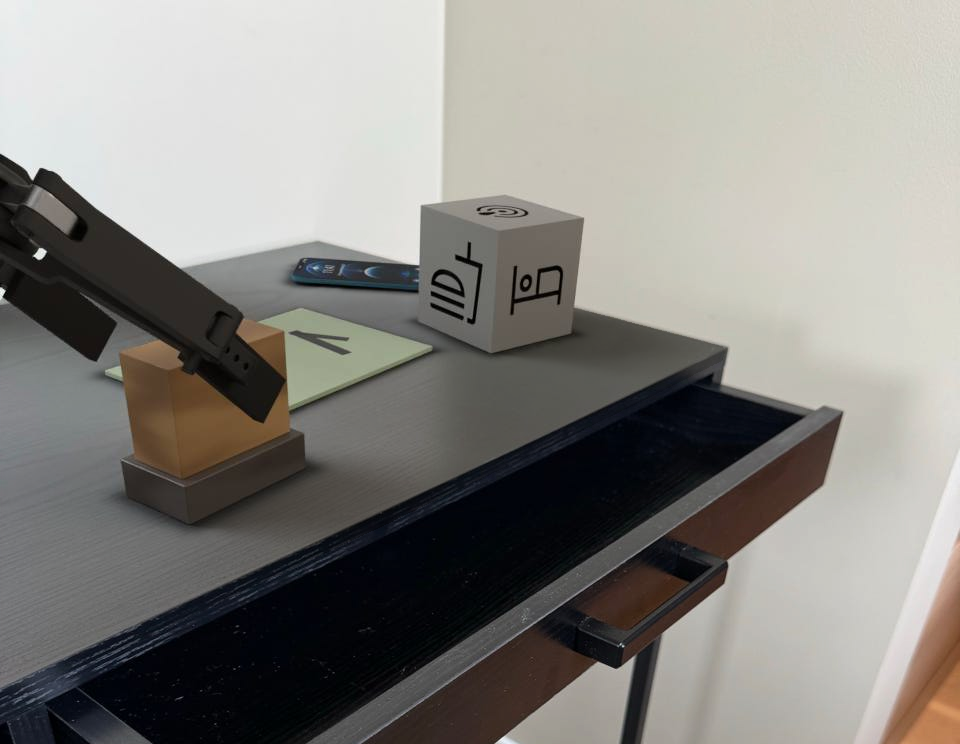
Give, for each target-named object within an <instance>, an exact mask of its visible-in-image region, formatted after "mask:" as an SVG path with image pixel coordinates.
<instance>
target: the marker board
mask: <svg viewBox="0 0 960 744" xmlns="http://www.w3.org/2000/svg"><path fill="white" fill-rule="evenodd" d="M257 322H258V323H261V324H264V325H268V326H271V327H274V328H277V329H281V330H284V332H285V350H286V368H287V385H288V403H289V412H290V411H293V410H295V409H297V408H300V407H302V406H304V405H306V404H310V403H311V402H314V401H316V400H318V399H322V398H323V397H326V396H328V395H331V394H334V393H335V392H337V391H340V390H343V389H345V388H347V387H349V386H352V385H354V384H356V383H359V382H361V381H363V380H366V379H368V378H370V377H373V376H376V375H378V374H380V373H382V372H385V371H387V370H390V369H392V368H395V367H397V366H399V365H402V364H404V363H406V362H408V361H411V360H413V359H416V358H419V357H421V356H423V355H425V354H427V353H431V352H432V351H433V345H430V344H426V343H423V342H420V341H417V340H412V339H409V338H406V337H402V336H400V335H399V336H398V335H396V334H392V333H389V332H386V331H382V330H378V329H375V328H371V327H368V326H365V325H362V324H358V323H355V322H351V321H348V320H344V319H342V318H337V317H334V316H331V315H328V314H324V313H320V312H316V311H314V310H311V309H307V308H303V307H298V308H296V309H293V310H290V311H287V312H283V313H281V314H277V315H275V316H271V317H267V318H265V319H262V320H261V319H260V320H258V321H257ZM104 374H105V376H106V377H108V378H112V379H115V380H117V381H120V382H122V383H123V377H122V371H121V365H120V364H119V365H117V366H113V367H110V368H109V369H105V370H104Z"/></svg>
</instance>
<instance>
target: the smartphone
mask: <svg viewBox="0 0 960 744" xmlns="http://www.w3.org/2000/svg"><path fill="white" fill-rule="evenodd" d="M291 280H292V281H295V282H298V283H309V284H324V285H339V286H353V287H354V286H355V287H368V288H382V289H397V290H410V291H419V264H409V263H408V264H407V263H395V262H380V261H364V260H351V259H339V258H337V259H336V258H323V257H301V258H300V259H299V261H298V262H297V263H296V266H295V267H294V270H293V271H292V273H291Z"/></svg>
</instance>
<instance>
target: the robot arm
mask: <svg viewBox="0 0 960 744" xmlns="http://www.w3.org/2000/svg"><path fill="white" fill-rule="evenodd" d="M39 249H43V250H44V251H46V252H45V253H44V256H43V257H42V258H41V259H38V258H37V257H36V256H35V255H36V254H37V253H38V252H39ZM0 289H2V290H4V293H3V295H2V297H1V298H2V299H4V300H5V301H7V302H8V303H9V304H11V305H12V306H13V307H15V308H16V309H17V310H19V311H21V312H22V313H23V314H25V315H26V316H27V317H28V318H30V319H31V320H33V321H34V322H36V323H37V324H38V325H40V326H42V327H43V328H44V329H46V330H47V331H48V332H50V333H51V334H53V335H54V336H55V337H57V339H59V340H61V342H64V343H65V344H66V345H68V346H69V347H71V348H72V349H73V350H75V351H76V352H78V353H79V354H80V355H82V356H83V357H84V358H86V359H87V360H89V361H92V362H95V363H97V362H98V360H99V359H100V357H101V355H102V353H103V351H104V349H105V348H106V346H107V344H108V342H109V340H110V338H111V336H112V334H113V333H114V331H115V329H116V327H117V325H118V322H117V321H116V320H115V319H114V318H112V316H110V315H108V314H107V313H106V312H105V311H104V310H102V309H101V308H100V307H98V306H97V305H96V304H95V303H97V304H98V305H100V306H101V307H103V308H105V309H107V310H108V311H110V312H112V313H113V314H115V315H117V316H119V317H120V318H122V319H124V320H125V321H127V322H128V323H130V324H131V325H134V326H136V327H137V328H139V329H141V330H142V331H144V332H146V334H149V335H151V336H152V337H154V338H155V339H157V340H161V341H162V342H164V343H166V344H168V345H169V346H171V347H173V348H174V349H176V350H178V351H179V352H180V353H179V355H178V357H177V358H178V359H179V360H180V361H182V362H183V365H182V367H181V369H180V370H181V371H183V372H185V373H187V374H189V375H194V373H196V374H198V375H199V376H200V377H201V378H202V379H204V380H205V381H206V382H207V383H209V384H210V385H211V386H212V387H214V388H215V389H216V390H217V391H218V392H220V393H221V394H222V395H223V396H225V397H226V398H227V399H228V400H229V401H231V402H232V403H233V404H234V405H236V406H237V407H238V408H239V409H241V410H242V411H243V412H244V413H245V414H247V415H248V416H249V417H250V418H252V419H253V420H255V421H257V422H260V423H263V424H264V422H265V420H266V418H267V416H268V414H269V412H270V411H271V409H272V407H273V405H274V403H275V401H276V399H277V397H278V395H279V393H280V391H281V389H282V387H283V385H284V384H285V382H286V379H285V378H284V377H283V376H282V375H281V374H280V373H279V372H278V371H276V370H275V369H274V368H273V367H272V366H271V365H270V364H269V363H268V362H267V361H266V360H265V359H264V358H263V357H261V356H260V355H259V354H258V353H257V352H256V351H255V350H254V349H253V348H252V347H251V346H250V345H249V344H247V343H246V342H245V341H244V340H243V339H242V338H241V337H240V336H239V335H238V334H237V333H236V332H237V330H238V328H239V326H240V324H241V322H242V320H243V318H245V315H244V314H243V312H242V311H240V310H239V308H238V307H236V306H235V305H234V304H232V303H229V302H228V301H227V300H225V299H223V298H222V297H221V296H219V295H218V294H216V293H215V292H213V291H212V290H211V289H210V288H208V287H207V286H205V285H203V284H202V283H201V282H200V281H198V280H197V279H195V278H194V277H193V276H191V275H190V274H188V273H187V272H186V271H184V270H183V269H182V268H180V267H179V266H178V265H176V264H175V263H173V262H172V261H171V260H169V259H168V258H167V257H165V256H164V255H162V254H161V253H160V252H158V251H157V250H155V249H154V248H152V247H151V246H149V245H148V244H147V243H145V242H144V241H142V240H141V239H140V238H138V237H137V236H136V235H134V234H133V233H132V232H130V231H129V230H127V229H126V228H124V227H123V226H121V225H120V224H119V223H117V222H116V221H114V220H113V219H112V218H111V217H109V216H108V215H106V214H105V213H103V212H102V211H101V210H99V209H98V208H97V207H95V206H94V205H93V204H91V203H90V202H89V201H88V200H87V199H86V198H85V197H84V196H82V195H81V194H80V193H79V192H78V191H77V190H75V189H74V188H73V187H72V186H71V185H69V184H68V183H67V182H66V181H65V180H64V179H63V177H62V176H61V175H59V174H58V173H57V172H55V171H53V170H49V169H47V168H44V167H39V168H38V170H37V172H36V174H35V175H34V176H33V179H32V177H31V176H30V174H29V172H28V171H27V169H26V168H24V167H23V166H21V165H20V164H19V163H17V162H16V161H14V160H12V159H10V158H9V157H7V156H6V155H4V154H2V153H0ZM92 301H93V302H95V303H93V302H92Z"/></svg>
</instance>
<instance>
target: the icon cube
mask: <svg viewBox="0 0 960 744" xmlns="http://www.w3.org/2000/svg"><path fill="white" fill-rule="evenodd" d="M419 217H420V220H419V221H420V222H419V258H418V259H419V263H418V265H419V290H418V302H417V303H418V306H417V307H418V308H417V309H418V310H417V322H419V323H421V324H423V325H425V326H427V327H429V328H432V329H434V330H435V331H439V332H441V333H444V334H445V335H448V336H450V337H453V338H455V339H457V340H459V341H461V342H464V343H466V344H468V345H470V346H473V347H475V348H478V349H480V350H482V351H485V352H486V353H488V354H493V353H498V352H502V351H506V350H510V349H513V348H518V347H522V346H526V345H531V344H535V343H539V342H542V341H547V340H550V339H555V338H558V337H563V336H566V335H570V334H572V329H573V327H572V326H573V320H574V313H575V312H574V310H575V303H576V302H575V301H576V295H577V294H576V293H577V287H578V286H577V285H578V278H579V277H578V276H579V268H580V260H581V259H580V258H581V251H582V244H583V243H582V242H583V234H584V224H585V217H583V216H580V215H577V214H573V213H569V212H566V211H562V210H559V209H556V208H552V207H549V206H545V205H542V204H539V203H535V202H533V201H532V202H531V201H528V200H525V199H522V198H518V197H514V196H511V195H508V194H501V195H493V196H492V195H491V196H483V197H476V198H466V199H459V200H451V201H444V202H435V203H428V204H427V203H426V204H420V215H419Z"/></svg>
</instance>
